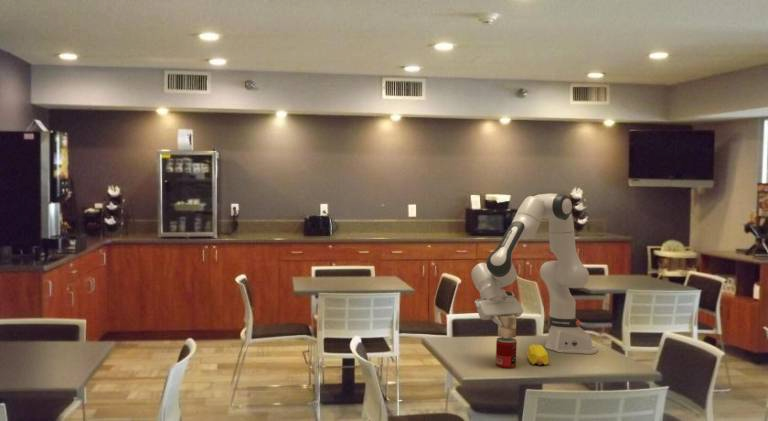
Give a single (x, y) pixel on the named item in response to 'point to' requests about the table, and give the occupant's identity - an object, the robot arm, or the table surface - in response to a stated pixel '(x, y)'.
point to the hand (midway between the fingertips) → (508, 325)
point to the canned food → (506, 352)
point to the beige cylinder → (507, 327)
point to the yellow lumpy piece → (537, 354)
